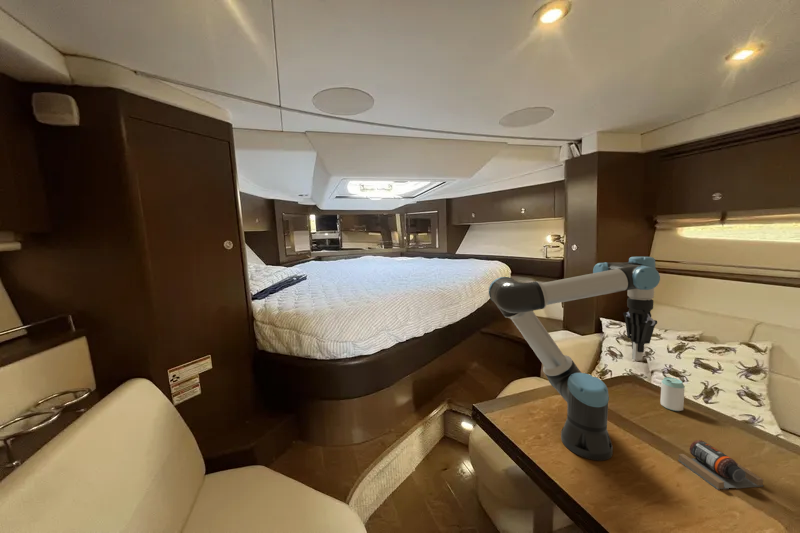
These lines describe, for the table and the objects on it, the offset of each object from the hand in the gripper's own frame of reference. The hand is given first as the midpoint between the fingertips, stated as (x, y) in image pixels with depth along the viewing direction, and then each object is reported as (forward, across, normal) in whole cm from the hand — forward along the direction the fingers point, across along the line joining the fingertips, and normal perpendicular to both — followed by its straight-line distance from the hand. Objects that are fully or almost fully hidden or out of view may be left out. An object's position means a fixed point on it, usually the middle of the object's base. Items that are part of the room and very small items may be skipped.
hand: (637, 359), depth 109 cm
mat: (+26, -24, -6) cm, 36 cm away
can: (+26, +10, -24) cm, 37 cm away
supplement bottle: (+22, -17, -6) cm, 29 cm away
